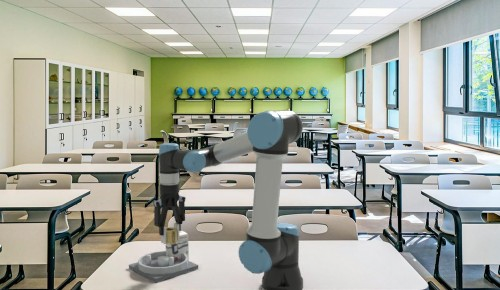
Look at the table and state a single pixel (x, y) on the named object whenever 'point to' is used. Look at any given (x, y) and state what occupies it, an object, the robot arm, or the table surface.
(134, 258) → the table surface
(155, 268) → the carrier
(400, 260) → the table surface
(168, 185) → the robot arm
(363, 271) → the table surface
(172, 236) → the tan hollow cylinder
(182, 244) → the ink box
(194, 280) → the table surface
